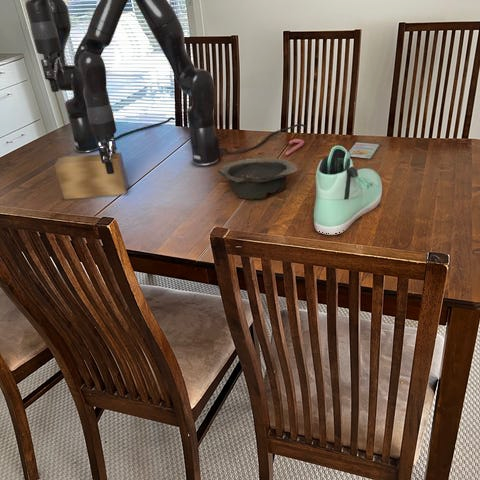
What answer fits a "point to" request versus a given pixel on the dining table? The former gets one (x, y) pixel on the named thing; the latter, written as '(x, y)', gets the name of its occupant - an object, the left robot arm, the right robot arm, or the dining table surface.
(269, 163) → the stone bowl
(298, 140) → the candy cane
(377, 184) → the sneaker
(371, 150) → the baking ingredient package
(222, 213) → the dining table surface
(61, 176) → the box
